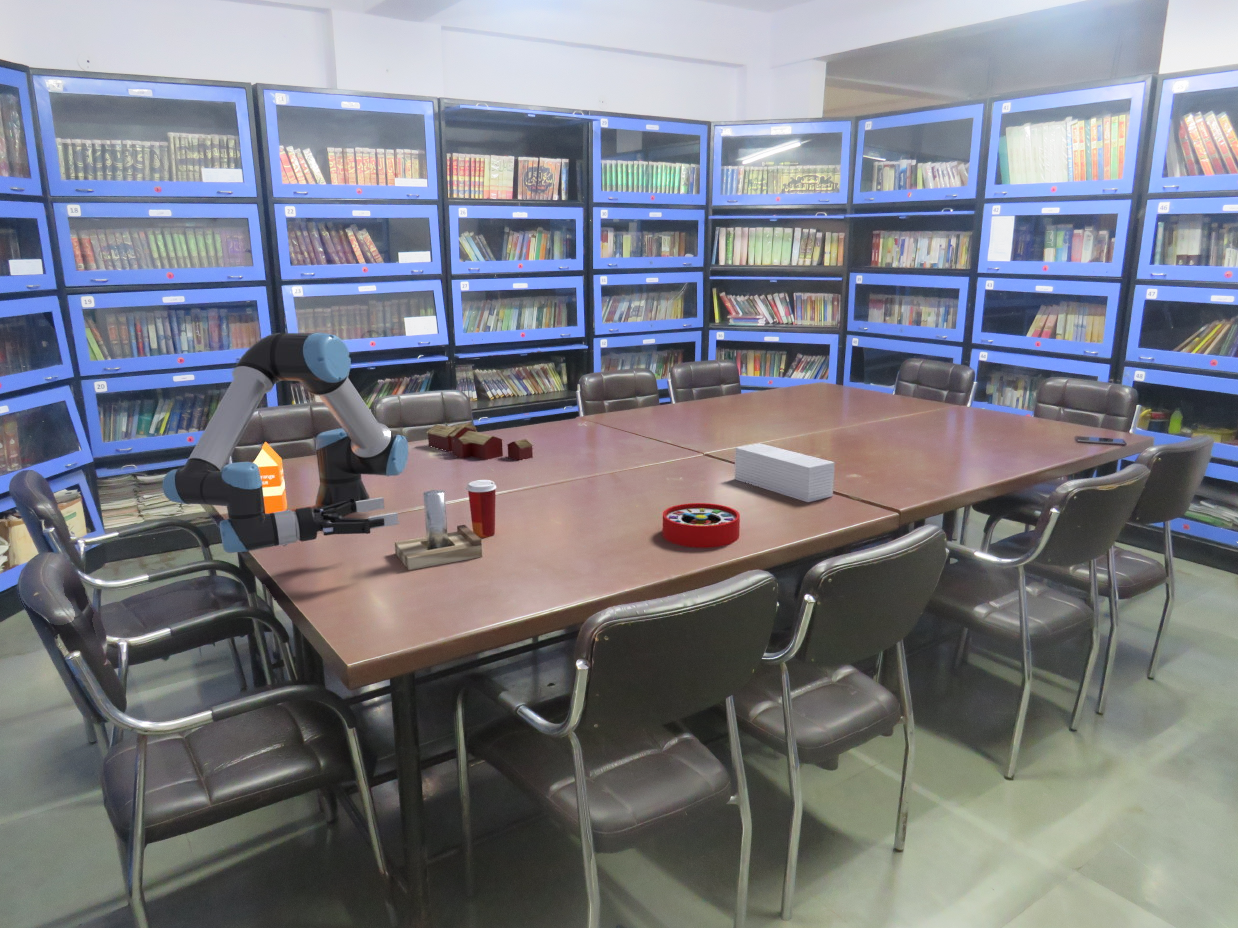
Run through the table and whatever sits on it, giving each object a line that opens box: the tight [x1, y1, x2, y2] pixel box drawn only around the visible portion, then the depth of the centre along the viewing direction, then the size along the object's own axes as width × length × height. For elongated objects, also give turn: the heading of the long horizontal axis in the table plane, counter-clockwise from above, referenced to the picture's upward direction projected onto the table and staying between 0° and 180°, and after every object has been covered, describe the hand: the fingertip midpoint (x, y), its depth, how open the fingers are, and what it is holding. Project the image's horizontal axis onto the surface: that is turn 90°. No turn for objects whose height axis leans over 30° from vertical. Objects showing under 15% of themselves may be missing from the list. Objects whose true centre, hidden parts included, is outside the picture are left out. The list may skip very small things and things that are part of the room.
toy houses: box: [425, 422, 534, 461], centre depth 310 cm, size 45×20×10 cm, turn 46°
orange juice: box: [252, 441, 288, 513], centre depth 239 cm, size 8×9×20 cm
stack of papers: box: [734, 442, 836, 503], centre depth 259 cm, size 32×11×11 cm, turn 34°
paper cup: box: [466, 479, 497, 539], centre depth 218 cm, size 8×8×14 cm
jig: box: [394, 524, 483, 571], centre depth 205 cm, size 13×18×4 cm
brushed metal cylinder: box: [422, 489, 448, 550], centre depth 203 cm, size 5×5×16 cm
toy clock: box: [662, 502, 741, 549], centre depth 217 cm, size 20×6×20 cm
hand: (390, 510), depth 198 cm, fingers open, 13 cm apart
